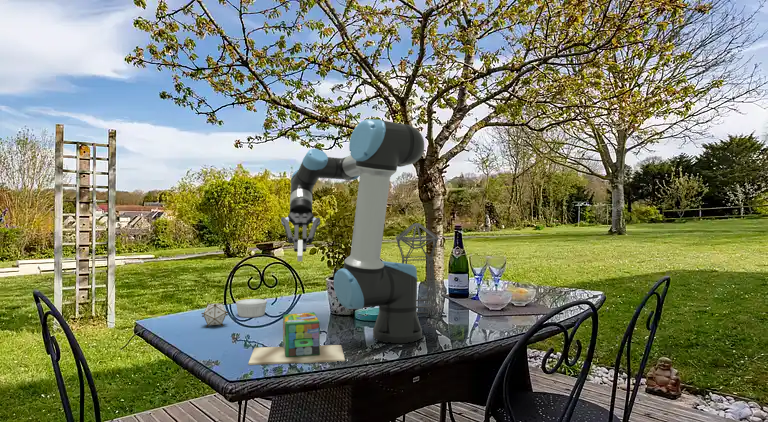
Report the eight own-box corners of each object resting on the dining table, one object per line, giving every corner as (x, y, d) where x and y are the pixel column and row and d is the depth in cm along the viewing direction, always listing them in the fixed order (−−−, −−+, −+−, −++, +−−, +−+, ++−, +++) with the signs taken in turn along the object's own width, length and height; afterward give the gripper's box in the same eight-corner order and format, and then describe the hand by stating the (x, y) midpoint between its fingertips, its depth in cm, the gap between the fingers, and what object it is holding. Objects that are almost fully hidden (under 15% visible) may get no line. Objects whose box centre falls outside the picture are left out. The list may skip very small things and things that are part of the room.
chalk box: (314, 311, 138) (322, 322, 124) (315, 344, 138) (322, 358, 124) (282, 313, 136) (286, 325, 122) (282, 346, 136) (286, 361, 121)
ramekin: (238, 312, 185) (239, 298, 185) (268, 312, 186) (268, 298, 186) (232, 318, 173) (233, 304, 174) (264, 318, 175) (264, 303, 175)
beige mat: (341, 346, 138) (341, 344, 138) (344, 361, 124) (344, 359, 124) (254, 349, 134) (254, 347, 134) (248, 364, 120) (248, 362, 120)
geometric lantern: (441, 320, 174) (440, 223, 174) (397, 321, 174) (396, 224, 174) (436, 311, 190) (434, 222, 190) (396, 311, 190) (394, 222, 189)
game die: (217, 338, 160) (217, 318, 154) (195, 327, 161) (195, 307, 156) (233, 320, 167) (234, 300, 161) (212, 310, 169) (212, 290, 163)
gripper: (320, 213, 168) (320, 266, 152) (282, 213, 166) (278, 266, 150) (320, 197, 163) (321, 250, 147) (281, 197, 161) (277, 250, 145)
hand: (299, 258), depth 148 cm, fingers closed
